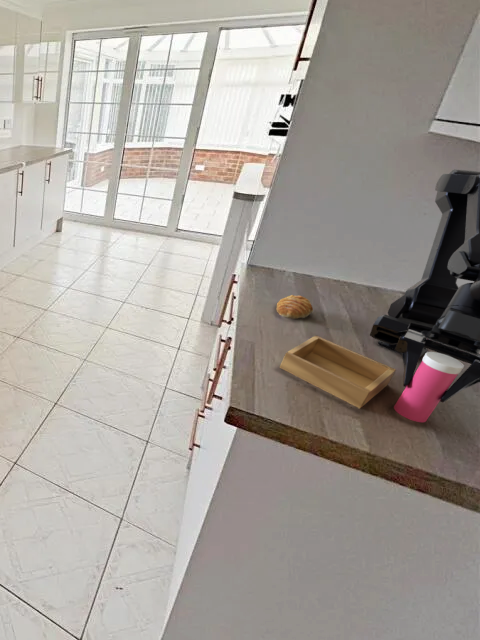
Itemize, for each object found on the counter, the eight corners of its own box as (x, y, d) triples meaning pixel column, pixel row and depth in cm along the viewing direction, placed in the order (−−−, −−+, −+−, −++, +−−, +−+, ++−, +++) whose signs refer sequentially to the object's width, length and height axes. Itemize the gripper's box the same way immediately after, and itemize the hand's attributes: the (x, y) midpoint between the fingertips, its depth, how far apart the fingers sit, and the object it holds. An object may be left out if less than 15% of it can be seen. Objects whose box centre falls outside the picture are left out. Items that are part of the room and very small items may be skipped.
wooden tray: (307, 352, 86) (315, 335, 84) (385, 388, 76) (396, 369, 74) (277, 370, 80) (285, 352, 78) (358, 412, 70) (369, 392, 68)
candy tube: (396, 404, 72) (430, 348, 67) (428, 420, 69) (467, 362, 64) (387, 413, 70) (421, 356, 65) (420, 429, 67) (459, 371, 62)
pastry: (300, 326, 95) (306, 311, 94) (267, 314, 100) (273, 300, 99) (312, 313, 101) (318, 300, 99) (280, 303, 106) (285, 290, 104)
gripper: (402, 272, 69) (354, 347, 68) (589, 321, 55) (533, 417, 54) (392, 300, 77) (348, 368, 75) (554, 350, 63) (504, 434, 62)
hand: (422, 393), depth 66 cm, fingers closed on candy tube, 4 cm apart
